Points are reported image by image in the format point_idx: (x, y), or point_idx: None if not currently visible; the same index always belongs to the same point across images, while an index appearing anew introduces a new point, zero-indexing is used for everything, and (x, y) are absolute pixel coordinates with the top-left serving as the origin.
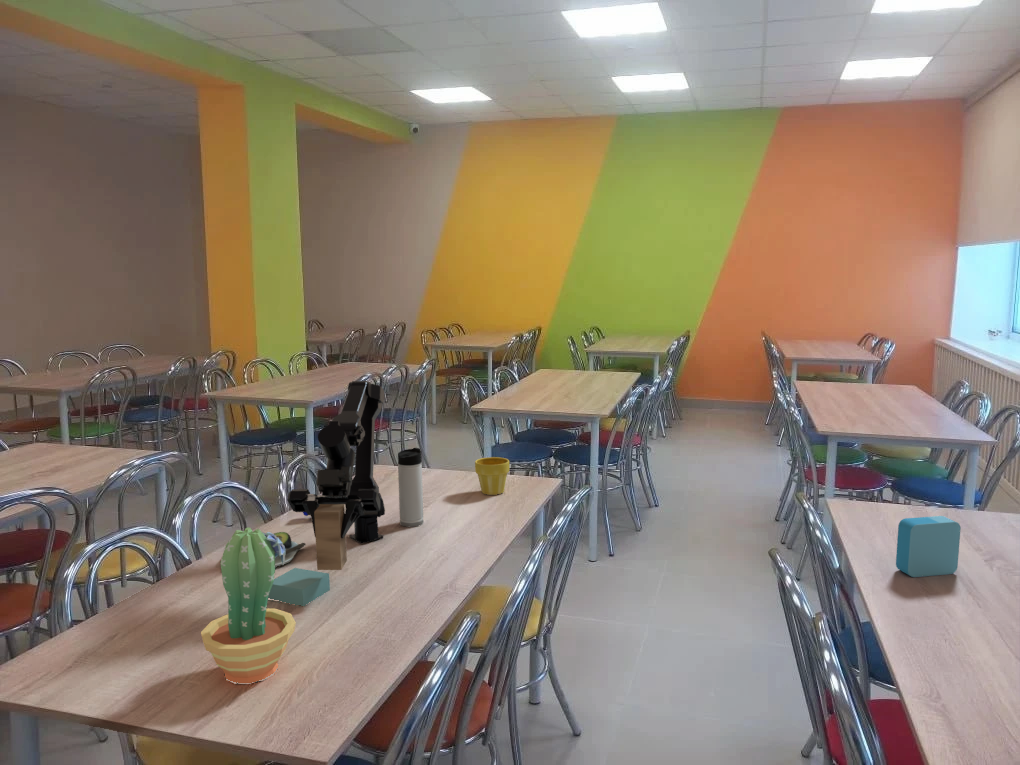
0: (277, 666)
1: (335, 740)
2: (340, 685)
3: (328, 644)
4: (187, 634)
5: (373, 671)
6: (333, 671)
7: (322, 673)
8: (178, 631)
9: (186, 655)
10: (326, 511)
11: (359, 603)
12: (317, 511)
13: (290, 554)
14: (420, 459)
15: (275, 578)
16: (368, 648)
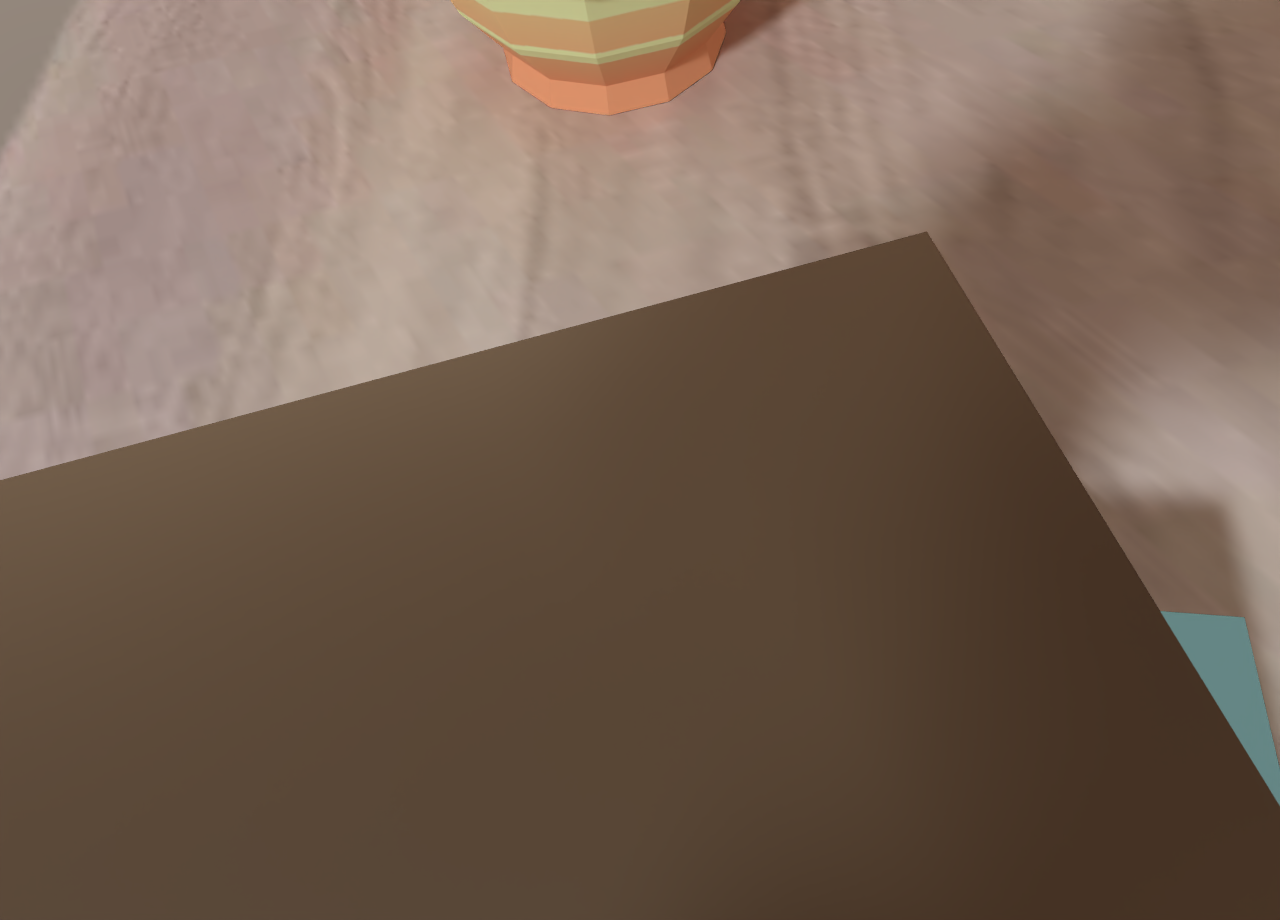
0: (510, 63)
1: None
2: (208, 69)
3: (378, 281)
4: (1192, 155)
5: (93, 168)
6: (268, 125)
7: (309, 103)
8: (1275, 162)
9: (992, 39)
10: (433, 406)
11: None
12: (817, 291)
13: None
14: None
15: (1272, 745)
16: (155, 306)
